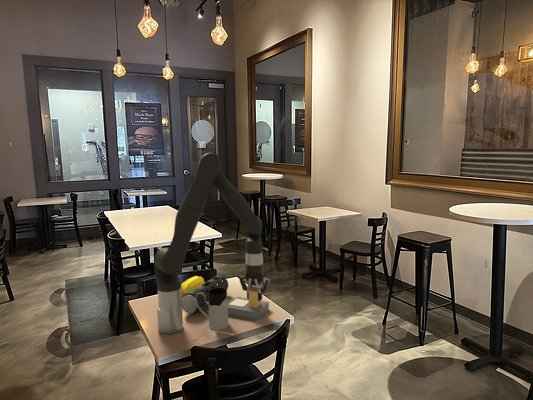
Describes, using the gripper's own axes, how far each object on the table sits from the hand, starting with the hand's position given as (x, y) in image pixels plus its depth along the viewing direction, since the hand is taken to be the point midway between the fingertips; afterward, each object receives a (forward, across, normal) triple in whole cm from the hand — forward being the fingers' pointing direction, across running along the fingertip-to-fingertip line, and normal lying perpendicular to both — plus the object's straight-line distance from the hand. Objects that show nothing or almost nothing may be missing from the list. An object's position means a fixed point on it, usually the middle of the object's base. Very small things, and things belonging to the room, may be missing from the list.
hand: (254, 300), depth 167 cm
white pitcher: (+7, -14, -14) cm, 21 cm away
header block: (+7, -4, +1) cm, 8 cm away
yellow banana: (+7, -40, +18) cm, 44 cm away
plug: (+5, 0, 0) cm, 5 cm away
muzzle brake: (+7, -26, +4) cm, 27 cm away
